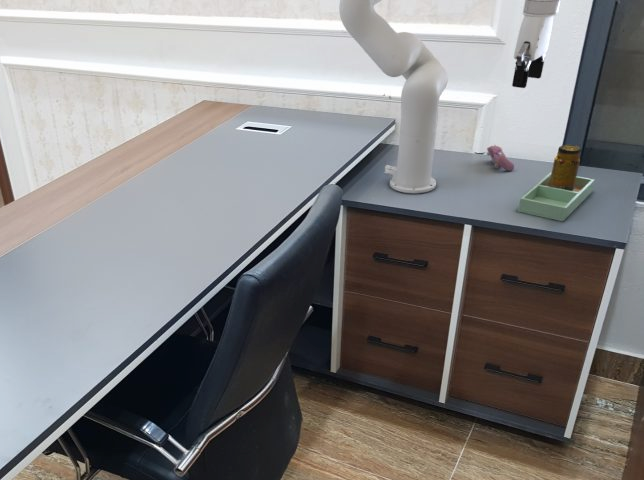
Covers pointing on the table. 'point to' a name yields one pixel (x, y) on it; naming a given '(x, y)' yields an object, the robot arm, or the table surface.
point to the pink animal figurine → (499, 158)
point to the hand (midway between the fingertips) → (526, 82)
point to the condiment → (565, 168)
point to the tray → (555, 199)
